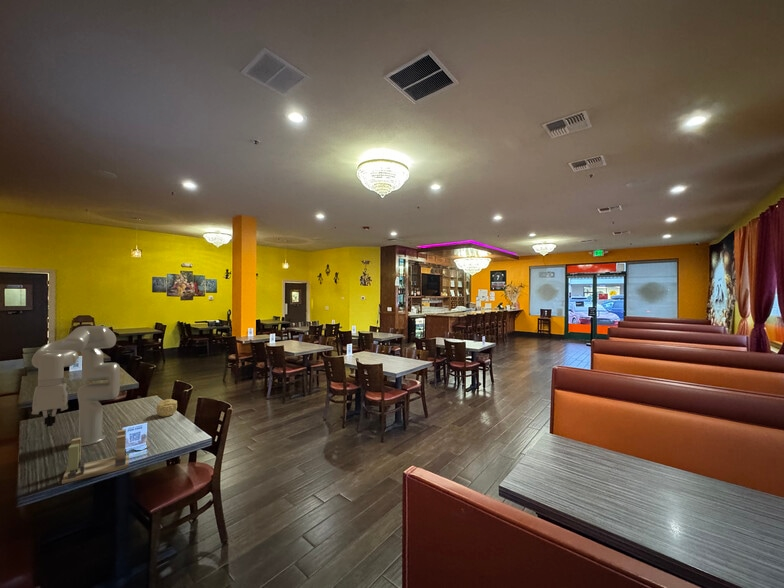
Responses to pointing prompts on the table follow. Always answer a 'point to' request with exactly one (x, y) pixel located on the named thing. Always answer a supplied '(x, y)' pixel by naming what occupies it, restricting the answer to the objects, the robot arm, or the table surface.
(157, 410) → the beige rounded lump
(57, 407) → the robot arm
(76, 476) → the stool seat
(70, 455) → the hinged leg
